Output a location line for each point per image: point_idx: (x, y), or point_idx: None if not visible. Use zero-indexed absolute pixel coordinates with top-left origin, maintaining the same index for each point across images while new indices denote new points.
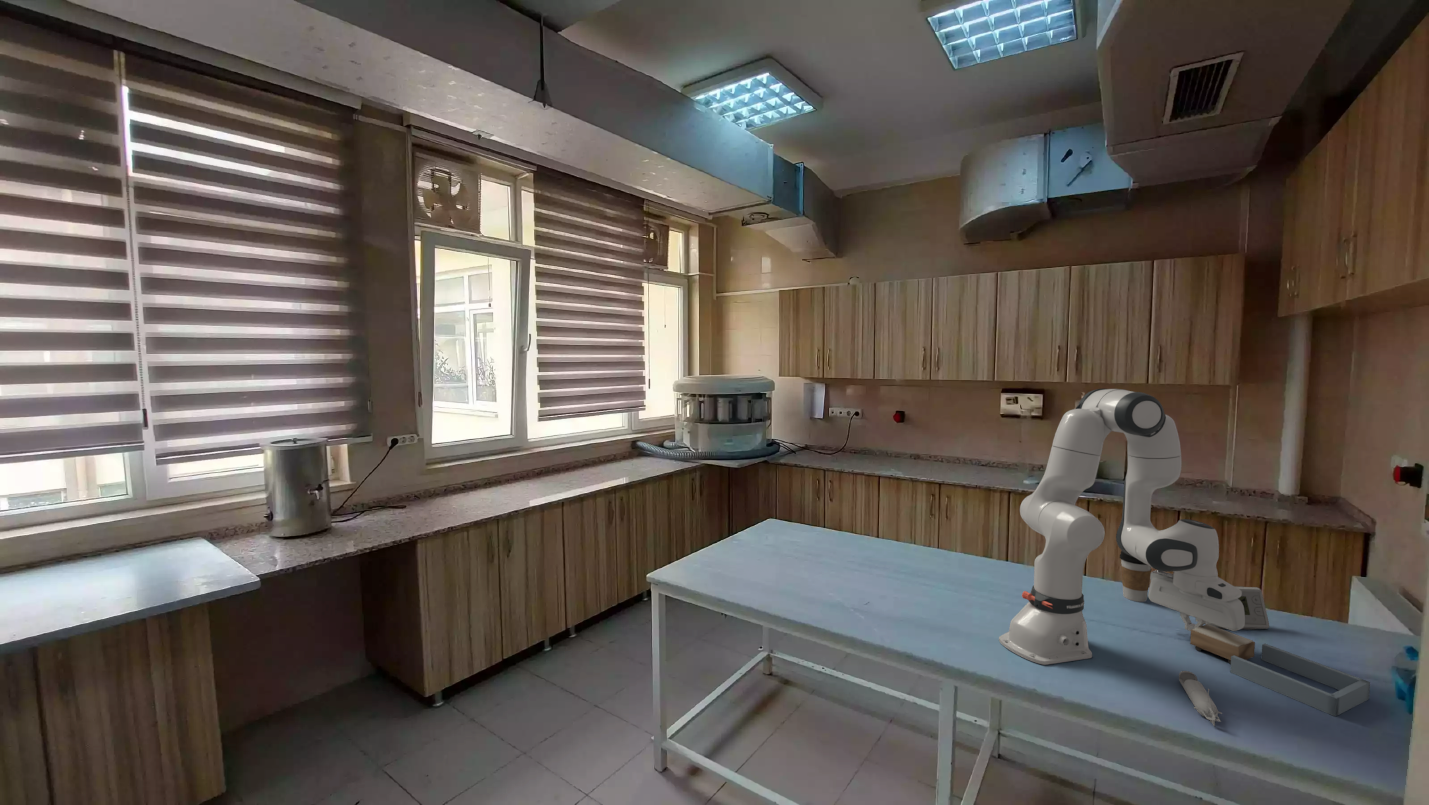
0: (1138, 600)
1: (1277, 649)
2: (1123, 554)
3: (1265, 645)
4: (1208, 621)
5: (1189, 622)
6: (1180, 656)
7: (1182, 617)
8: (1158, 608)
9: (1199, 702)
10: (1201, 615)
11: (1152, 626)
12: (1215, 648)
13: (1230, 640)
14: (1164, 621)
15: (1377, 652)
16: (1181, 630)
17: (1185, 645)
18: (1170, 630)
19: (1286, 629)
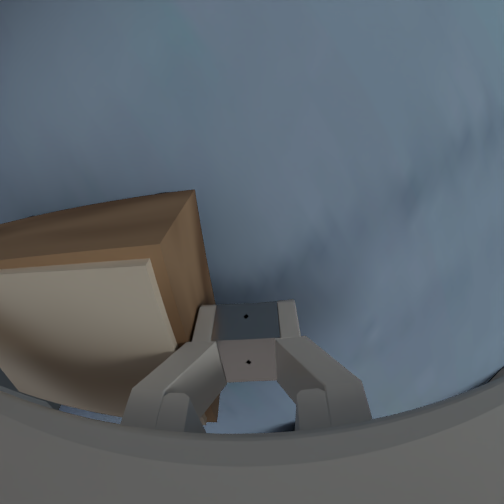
0: (501, 373)
1: (20, 396)
2: None
3: (41, 401)
4: (31, 409)
5: (280, 370)
6: (149, 18)
7: (333, 375)
8: (456, 390)
9: None
10: (69, 466)
11: (455, 254)
12: (42, 226)
13: None
14: (430, 344)
15: None
16: (357, 339)
17: (241, 193)
18: (389, 296)
19: None
